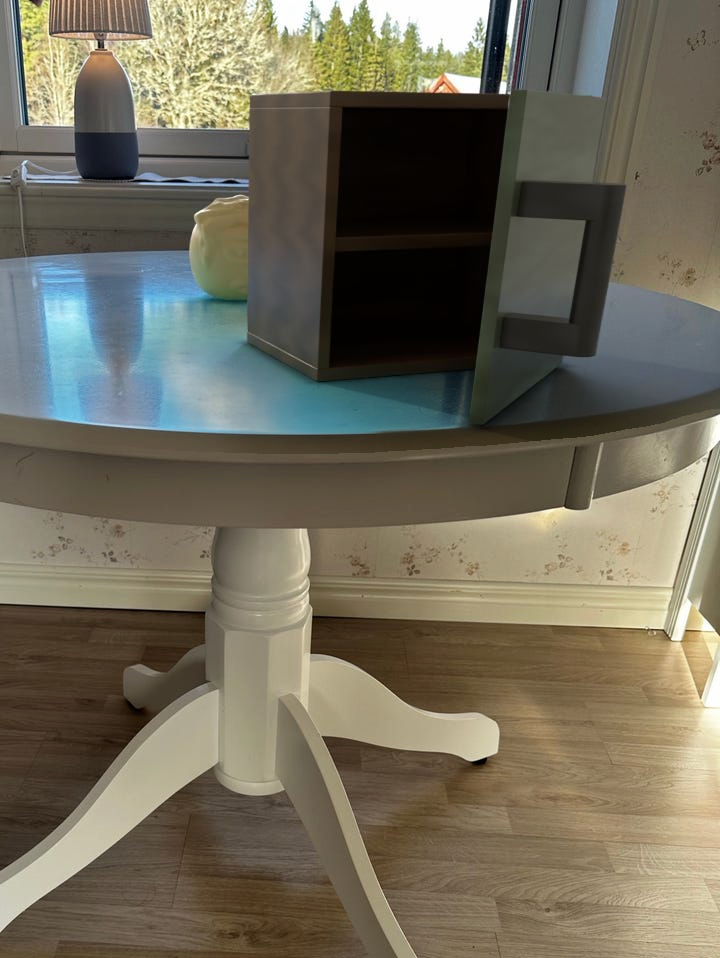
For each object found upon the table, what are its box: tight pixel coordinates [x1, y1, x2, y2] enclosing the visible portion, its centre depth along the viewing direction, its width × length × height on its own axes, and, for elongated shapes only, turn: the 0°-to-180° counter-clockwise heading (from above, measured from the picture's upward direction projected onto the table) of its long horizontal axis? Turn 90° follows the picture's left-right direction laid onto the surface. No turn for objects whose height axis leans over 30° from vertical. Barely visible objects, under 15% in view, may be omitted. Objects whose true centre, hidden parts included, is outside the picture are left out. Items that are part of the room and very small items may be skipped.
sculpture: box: [188, 194, 249, 301], centre depth 109 cm, size 11×12×11 cm
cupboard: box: [246, 89, 589, 383], centre depth 81 cm, size 16×22×20 cm
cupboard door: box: [468, 89, 628, 426], centre depth 67 cm, size 7×22×20 cm, turn 150°
